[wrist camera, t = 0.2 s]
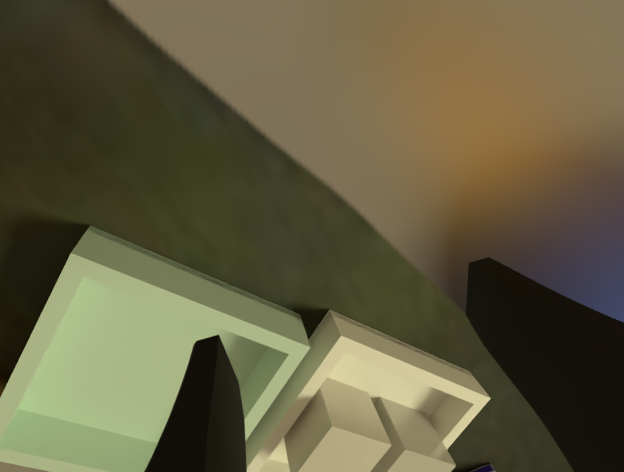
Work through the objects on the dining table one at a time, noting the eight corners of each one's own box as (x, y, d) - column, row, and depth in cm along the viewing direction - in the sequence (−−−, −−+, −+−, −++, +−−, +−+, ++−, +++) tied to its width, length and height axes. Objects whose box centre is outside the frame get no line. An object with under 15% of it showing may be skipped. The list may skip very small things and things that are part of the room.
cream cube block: (391, 455, 30) (416, 511, 26) (345, 441, 28) (365, 498, 24) (425, 413, 29) (456, 465, 25) (380, 396, 27) (405, 449, 24)
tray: (372, 488, 31) (384, 522, 29) (231, 451, 27) (233, 487, 25) (468, 371, 29) (490, 398, 27) (329, 309, 24) (341, 335, 22)
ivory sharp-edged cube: (333, 437, 28) (351, 494, 24) (280, 421, 26) (291, 480, 23) (367, 392, 27) (391, 445, 23) (315, 372, 25) (332, 426, 22)
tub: (203, 457, 27) (202, 502, 24) (0, 406, 22) (-28, 455, 20) (299, 314, 24) (310, 347, 21) (90, 225, 20) (70, 253, 17)
